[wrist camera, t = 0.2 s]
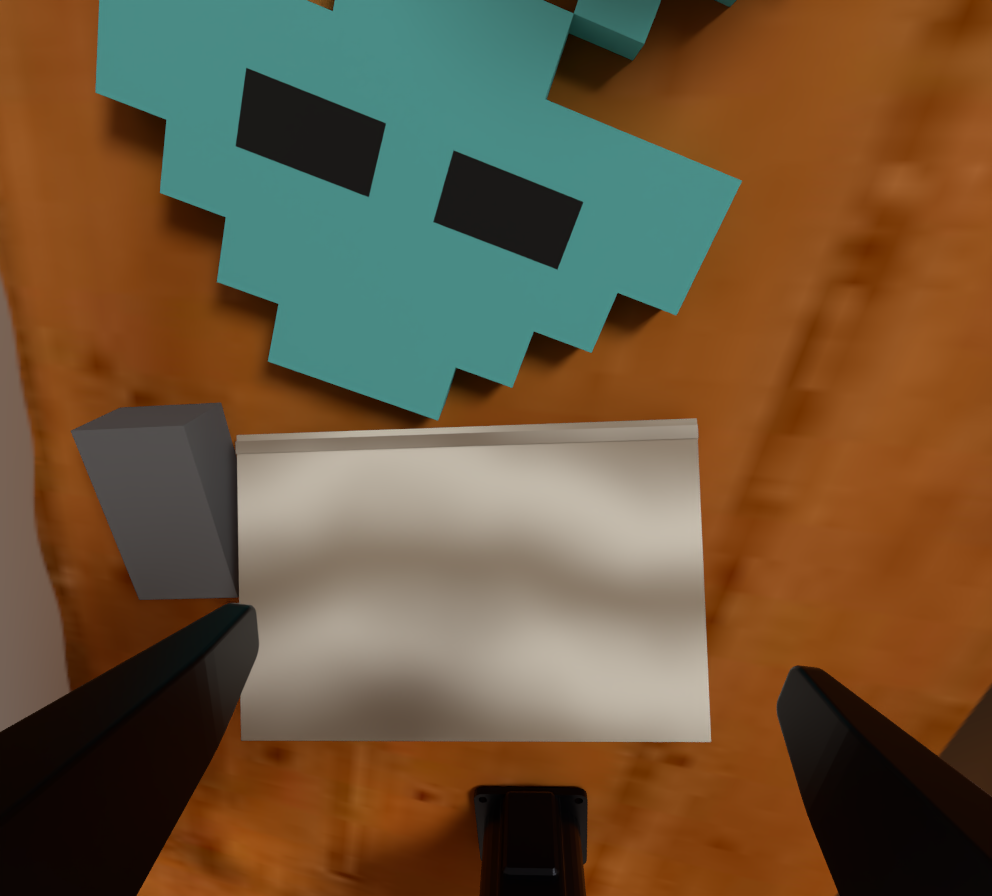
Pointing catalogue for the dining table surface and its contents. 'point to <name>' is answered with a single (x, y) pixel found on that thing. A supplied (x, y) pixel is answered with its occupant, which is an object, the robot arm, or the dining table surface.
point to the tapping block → (168, 496)
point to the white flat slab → (475, 584)
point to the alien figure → (412, 177)
